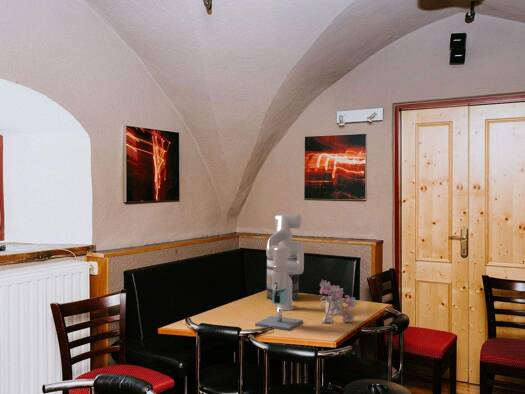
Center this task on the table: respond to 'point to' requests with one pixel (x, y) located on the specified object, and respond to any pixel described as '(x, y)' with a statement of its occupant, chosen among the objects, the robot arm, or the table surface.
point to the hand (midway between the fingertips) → (279, 301)
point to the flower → (336, 302)
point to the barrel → (293, 276)
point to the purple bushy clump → (328, 306)
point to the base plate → (279, 323)
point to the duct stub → (279, 315)
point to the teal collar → (281, 297)
